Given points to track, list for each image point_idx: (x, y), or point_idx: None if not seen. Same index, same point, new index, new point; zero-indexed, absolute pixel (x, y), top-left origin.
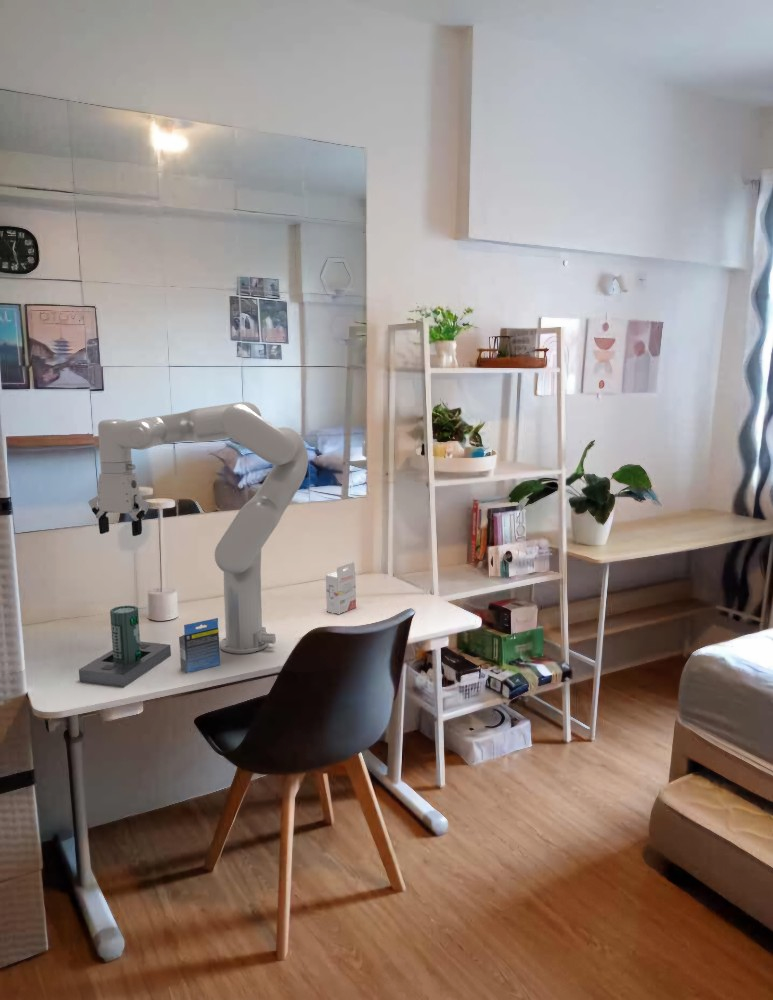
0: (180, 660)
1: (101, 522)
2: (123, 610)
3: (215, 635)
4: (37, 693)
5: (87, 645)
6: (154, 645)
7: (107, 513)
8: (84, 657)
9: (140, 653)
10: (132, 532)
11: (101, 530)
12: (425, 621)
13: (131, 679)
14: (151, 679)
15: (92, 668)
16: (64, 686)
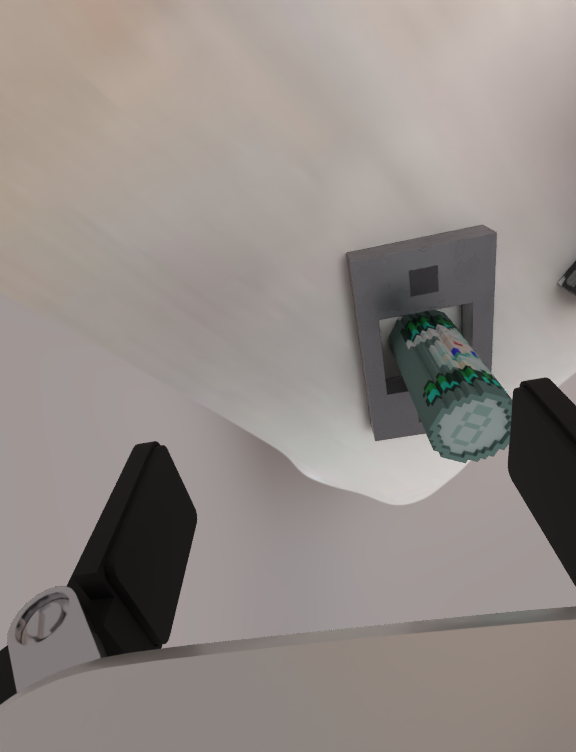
0: (571, 292)
1: (173, 613)
2: (465, 422)
3: None
4: (337, 480)
5: (203, 274)
6: (452, 260)
7: (94, 635)
8: (270, 335)
9: (461, 334)
10: (526, 496)
11: (185, 540)
12: None
13: None
14: (514, 357)
15: (399, 427)
16: (359, 446)
